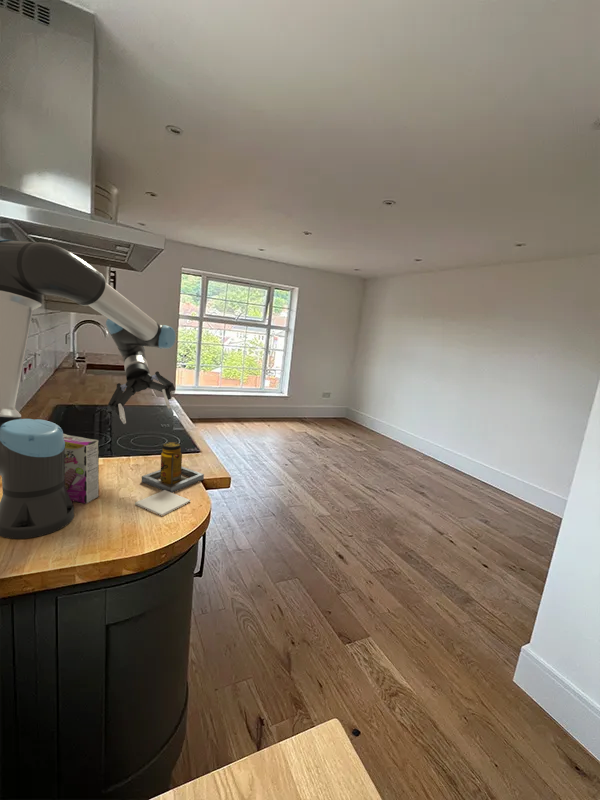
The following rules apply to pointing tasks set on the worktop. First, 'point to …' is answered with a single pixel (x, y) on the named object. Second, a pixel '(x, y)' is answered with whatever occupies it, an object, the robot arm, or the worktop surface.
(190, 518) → the worktop surface
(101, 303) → the robot arm
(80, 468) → the candy bar box
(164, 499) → the tile
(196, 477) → the socket
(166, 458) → the condiment
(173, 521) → the worktop surface
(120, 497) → the worktop surface
